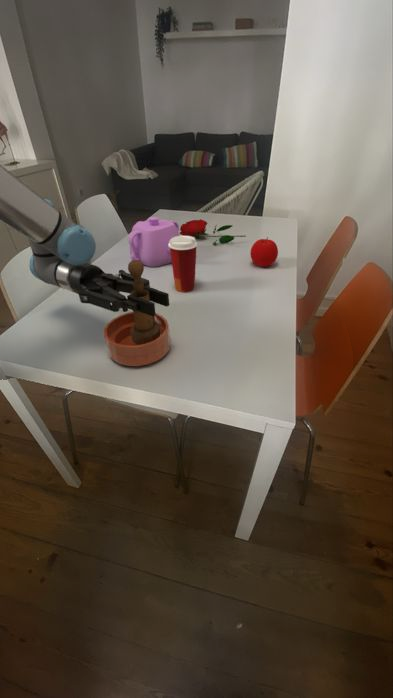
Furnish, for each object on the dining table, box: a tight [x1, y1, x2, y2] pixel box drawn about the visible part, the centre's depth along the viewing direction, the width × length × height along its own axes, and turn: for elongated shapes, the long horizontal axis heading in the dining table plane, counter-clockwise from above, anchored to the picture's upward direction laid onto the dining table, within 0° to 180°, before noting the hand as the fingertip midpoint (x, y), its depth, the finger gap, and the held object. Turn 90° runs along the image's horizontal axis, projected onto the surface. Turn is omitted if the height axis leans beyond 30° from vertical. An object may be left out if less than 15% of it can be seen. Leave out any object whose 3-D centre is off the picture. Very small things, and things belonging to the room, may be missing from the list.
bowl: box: [103, 311, 171, 367], centre depth 73 cm, size 14×14×6 cm
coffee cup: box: [168, 235, 198, 293], centre depth 94 cm, size 8×8×15 cm
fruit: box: [249, 236, 279, 268], centre depth 108 cm, size 9×9×10 cm
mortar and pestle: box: [127, 260, 160, 345], centre depth 67 cm, size 7×6×18 cm
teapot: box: [127, 216, 181, 268], centre depth 114 cm, size 19×21×14 cm
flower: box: [179, 218, 247, 246], centre depth 128 cm, size 9×10×30 cm
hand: (160, 304), depth 64 cm, fingers closed on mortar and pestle, 4 cm apart
